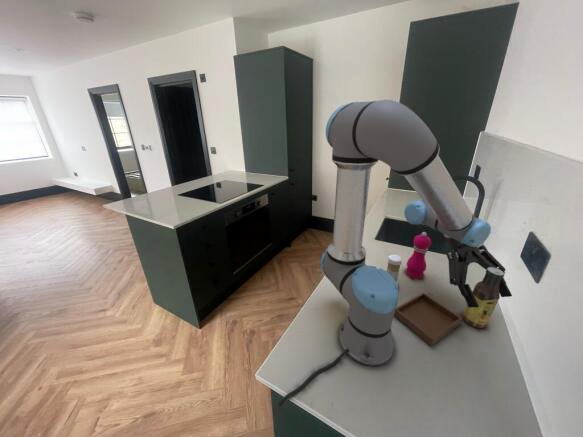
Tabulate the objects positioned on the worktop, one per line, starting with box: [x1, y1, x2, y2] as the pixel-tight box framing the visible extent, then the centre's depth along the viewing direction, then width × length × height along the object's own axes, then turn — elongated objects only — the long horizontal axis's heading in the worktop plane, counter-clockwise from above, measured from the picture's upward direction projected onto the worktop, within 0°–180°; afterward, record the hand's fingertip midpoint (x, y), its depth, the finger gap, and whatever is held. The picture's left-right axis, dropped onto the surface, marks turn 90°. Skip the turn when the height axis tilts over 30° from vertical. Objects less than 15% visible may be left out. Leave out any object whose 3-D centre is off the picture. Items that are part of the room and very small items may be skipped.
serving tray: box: [394, 292, 463, 347], centre depth 75 cm, size 15×13×3 cm
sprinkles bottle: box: [385, 254, 403, 284], centre depth 88 cm, size 5×5×13 cm
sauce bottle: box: [462, 267, 505, 329], centre depth 71 cm, size 6×6×20 cm
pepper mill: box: [405, 231, 432, 280], centre depth 93 cm, size 7×7×20 cm
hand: (490, 301), depth 69 cm, fingers open, 13 cm apart
